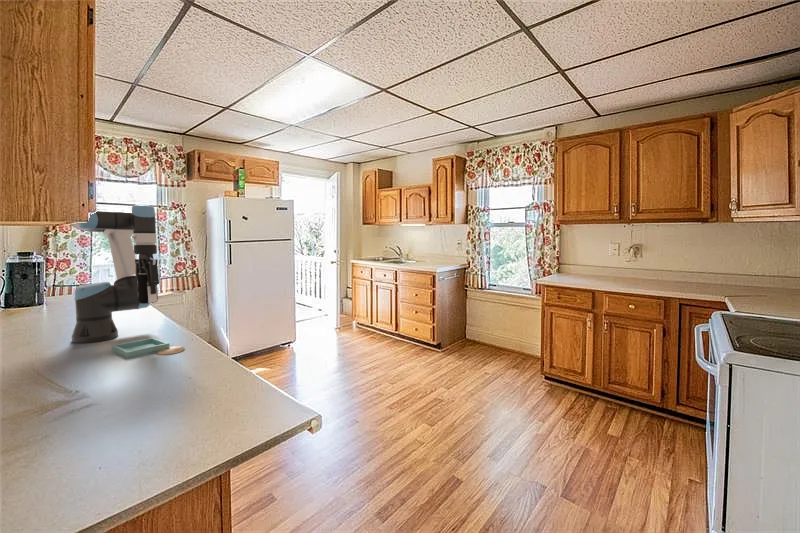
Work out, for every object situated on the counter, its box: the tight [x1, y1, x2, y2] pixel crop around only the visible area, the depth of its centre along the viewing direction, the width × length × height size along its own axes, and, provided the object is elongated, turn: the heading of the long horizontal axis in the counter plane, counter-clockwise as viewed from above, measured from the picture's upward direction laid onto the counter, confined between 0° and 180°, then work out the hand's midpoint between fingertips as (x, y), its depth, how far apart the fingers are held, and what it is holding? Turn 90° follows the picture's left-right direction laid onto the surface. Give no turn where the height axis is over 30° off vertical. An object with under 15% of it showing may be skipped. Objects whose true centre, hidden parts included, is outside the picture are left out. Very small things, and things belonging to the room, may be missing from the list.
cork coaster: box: [155, 345, 185, 356], centre depth 140 cm, size 9×9×1 cm
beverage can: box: [137, 273, 159, 304], centre depth 148 cm, size 7×7×12 cm
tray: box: [111, 337, 171, 359], centre depth 140 cm, size 14×14×2 cm
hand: (148, 301), depth 148 cm, fingers closed on beverage can, 7 cm apart
